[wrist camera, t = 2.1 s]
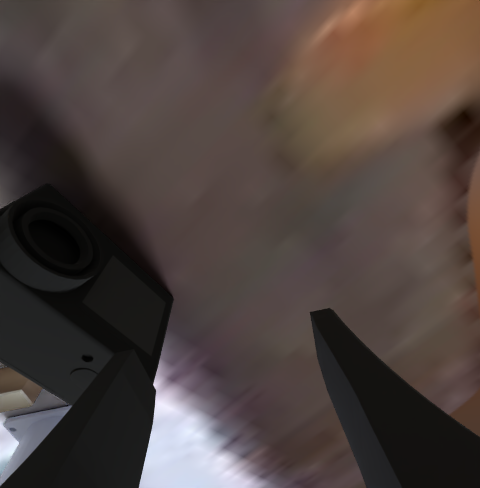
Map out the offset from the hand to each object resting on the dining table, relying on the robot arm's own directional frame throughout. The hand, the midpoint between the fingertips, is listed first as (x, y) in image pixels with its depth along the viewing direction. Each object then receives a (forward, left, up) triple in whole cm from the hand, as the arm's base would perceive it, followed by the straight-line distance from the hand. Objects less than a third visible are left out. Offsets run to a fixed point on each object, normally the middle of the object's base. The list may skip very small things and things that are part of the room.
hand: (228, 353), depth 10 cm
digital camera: (0, +8, -10) cm, 13 cm away
